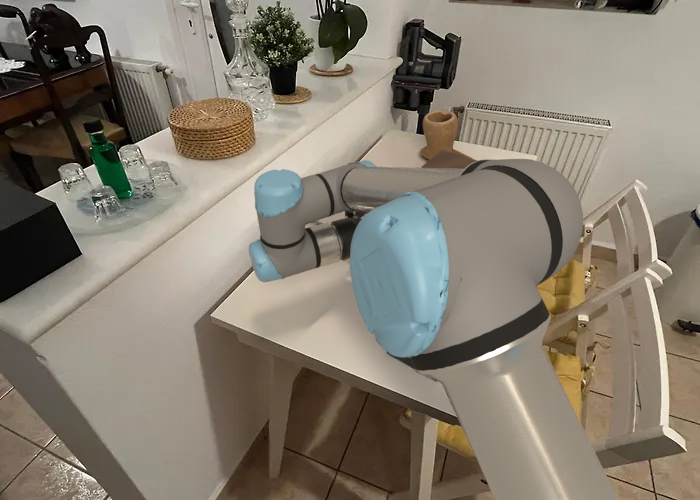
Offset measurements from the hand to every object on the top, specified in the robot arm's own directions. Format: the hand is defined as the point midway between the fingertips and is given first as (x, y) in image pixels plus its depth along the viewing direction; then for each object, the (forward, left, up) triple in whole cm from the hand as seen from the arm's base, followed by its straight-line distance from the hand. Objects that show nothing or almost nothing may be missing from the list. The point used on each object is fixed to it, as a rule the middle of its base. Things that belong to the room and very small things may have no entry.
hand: (432, 214), depth 86 cm
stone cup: (+19, -47, -15) cm, 53 cm away
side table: (+2, -17, -14) cm, 22 cm away
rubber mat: (-10, +19, -14) cm, 26 cm away
